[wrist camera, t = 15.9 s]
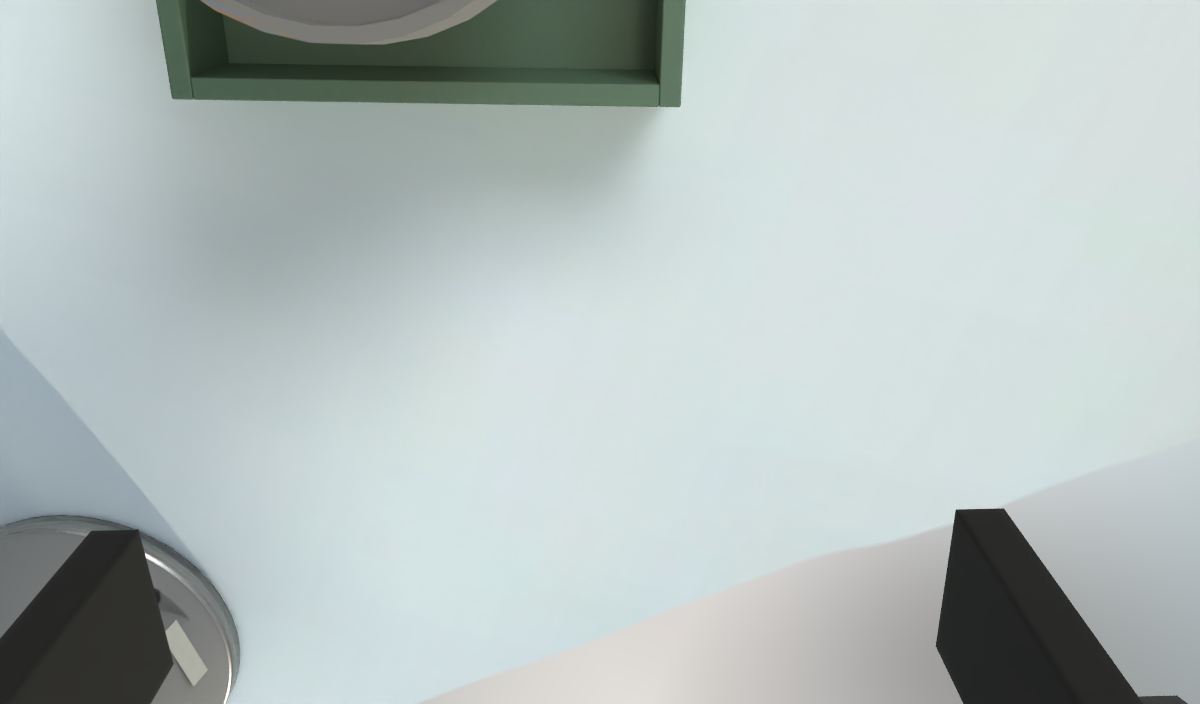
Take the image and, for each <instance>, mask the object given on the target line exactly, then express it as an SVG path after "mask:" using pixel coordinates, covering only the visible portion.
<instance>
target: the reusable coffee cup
mask: <svg viewBox="0 0 1200 704" xmlns="http://www.w3.org/2000/svg"><path fill="white" fill-rule="evenodd" d="M200 1H202V2H203V3H205V4H206V5H208V6H209V7H211V8H212V9H214V10H215V11H217V12H219V13H222V14H224V15H226V16H228V17H231V18H233V19H235V20H237V21H240V22H242V23H244V24H246V25H249V26H251V27H253V28H255V29H258V30H260V31H262V32H266V33H270V34H275V35H279V36H283V37H288V38H292V39H296V40H300V41H305V42H309V43H331V44H379V45H384V44H390V43H396V42H401V41H407V40H412V39H418V38H423V37H428V36H431V35H433V34H436V33H438V32H441V31H443V30H445V29H448V28H450V27H453V26H455V25H458V24H460V23H462V22H465V21H467V20H470V19H471V18H472V17H474V16H475V15H477V14H478V13H480V12H481V11H483V10H484V9H486V8H487V7H488V6H490V5H491V4H493V3H494V2H496V1H497V0H200Z"/></svg>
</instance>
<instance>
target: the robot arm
mask: <svg viewBox="0 0 1200 704" xmlns="http://www.w3.org/2000/svg"><path fill="white" fill-rule="evenodd" d="M936 647H937V649H938V652H939V654H940V655H941V658H942V660H943V662H944V664H945V666H946V668H947V670H948V672H949V674H950V676H951V679H952V681H953V683H954V685H955V687H956V689H957V691H958V693H959V695H960V697H961V699H962V701H963V704H1187V703H1186V702H1185V701H1183V700H1182V699H1181V698H1179V697H1178V696H1150V697H1149V696H1146V697H1138V696H1137V694H1136V693H1135V692H1134V690H1133V689H1132V687H1131V686H1130V685H1129V683H1128V682H1127V681H1126V679H1125V678H1124V676H1123V675H1122V673H1121V672H1120V671H1119V669H1118V668H1117V666H1116V665H1115V664H1114V662H1113V661H1112V659H1111V658H1110V657H1109V655H1108V654H1107V652H1106V651H1105V650H1104V648H1103V647H1102V646H1101V644H1100V643H1099V641H1098V640H1097V638H1096V637H1095V636H1094V634H1093V633H1092V631H1091V630H1090V629H1089V627H1088V626H1087V624H1086V623H1085V622H1084V620H1083V619H1082V617H1081V616H1080V615H1079V613H1078V612H1077V610H1076V609H1075V608H1074V606H1073V605H1072V603H1071V602H1070V601H1069V599H1068V598H1067V596H1066V595H1065V594H1064V592H1063V591H1062V589H1061V588H1060V587H1059V585H1058V584H1057V583H1056V581H1055V580H1054V578H1053V577H1052V575H1051V574H1050V573H1049V571H1048V570H1047V568H1046V567H1045V566H1044V564H1043V563H1042V562H1041V560H1040V559H1039V557H1038V556H1037V554H1036V553H1035V552H1034V550H1033V549H1032V547H1031V546H1030V545H1029V543H1028V542H1027V540H1026V539H1025V538H1024V536H1023V535H1022V533H1021V532H1020V531H1019V529H1018V528H1017V527H1016V525H1015V524H1014V522H1013V521H1012V520H1011V518H1010V517H1009V515H1008V514H1007V512H1006V511H1005V510H1004V509H966V510H956V512H955V519H954V526H953V533H952V540H951V546H950V553H949V561H948V568H947V574H946V581H945V587H944V594H943V601H942V608H941V614H940V621H939V628H938V635H937V642H936ZM239 663H240V647H239V639H238V635H237V630H236V627H235V624H234V621H233V619H232V616H231V614H230V612H229V610H228V608H227V606H226V604H225V602H224V601H223V599H222V598H221V596H220V594H219V593H218V592H217V590H216V589H215V588H214V587H213V585H212V584H211V583H210V582H209V581H208V579H207V578H206V577H205V576H204V575H203V574H202V573H201V572H200V571H199V570H198V569H197V568H196V567H195V566H193V565H192V564H191V563H190V562H189V561H187V560H186V559H185V558H184V557H182V556H181V555H180V554H178V553H177V552H175V551H174V550H172V549H171V548H169V547H168V546H166V545H164V544H163V543H161V542H159V541H157V540H156V539H154V538H152V537H149V536H147V535H145V534H143V533H141V532H139V530H133V529H131V528H128V527H125V526H122V525H119V524H115V523H112V522H108V521H104V520H99V519H94V518H87V517H80V516H44V517H35V518H30V519H25V520H20V521H17V522H14V523H11V524H8V525H5V526H3V527H1V528H0V704H225V703H226V701H227V699H228V697H229V695H230V693H231V691H232V689H233V686H234V684H235V682H236V678H237V674H238V670H239Z"/></svg>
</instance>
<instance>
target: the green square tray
mask: <svg viewBox="0 0 1200 704" xmlns="http://www.w3.org/2000/svg"><path fill="white" fill-rule="evenodd" d="M156 3H157V9H158V15H159V21H160V27H161V33H162V39H163V45H164V52H165V58H166V64H167V70H168V76H169V82H170V88H171V94H172V98H173V99H195V100H253V101H317V102H381V103H444V104H508V105H572V106H636V107H658V106H660V107H680V105H681V86H682V65H683V44H684V24H685V3H686V0H497V1H496V2H494V3H493V4H491V5H490V6H488V7H487V8H486V9H484V10H483V11H481V12H480V13H478V14H477V15H475V16H474V17H472V18H471V19H470V20H467V21H465V22H462V23H460V24H458V25H455V26H453V27H450V28H448V29H445V30H443V31H441V32H438V33H436V34H433V35H431V36H428V37H423V38H418V39H412V40H407V41H401V42H396V43H390V44H384V45H379V44H331V43H309V42H305V41H300V40H296V39H292V38H288V37H283V36H279V35H275V34H270V33H266V32H262V31H260V30H258V29H255V28H253V27H251V26H249V25H246V24H244V23H242V22H240V21H237V20H235V19H233V18H231V17H228V16H226V15H224V14H222V13H219V12H217V11H215V10H214V9H212V8H211V7H209V6H208V5H206V4H205V3H203V2H202V1H200V0H156Z"/></svg>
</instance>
